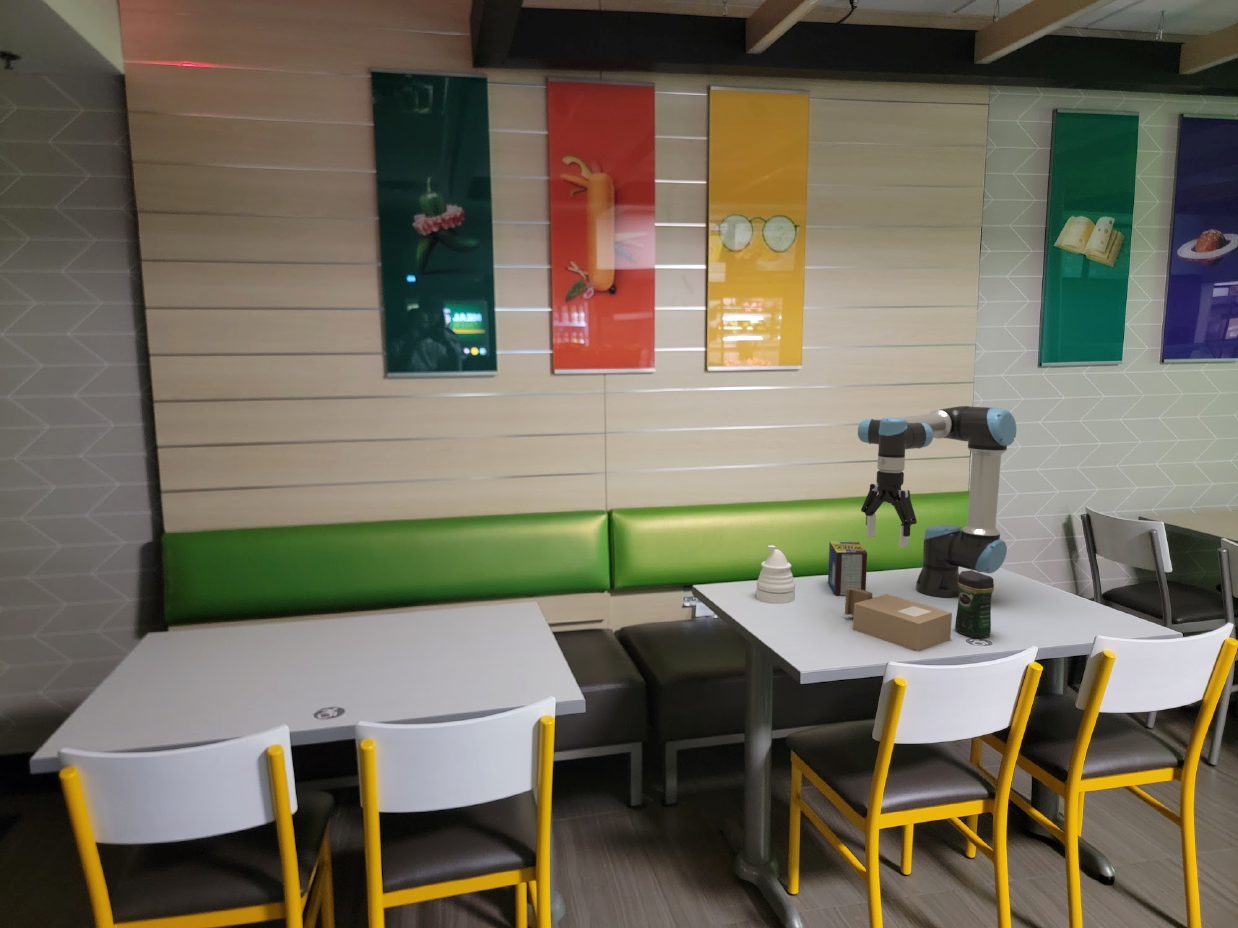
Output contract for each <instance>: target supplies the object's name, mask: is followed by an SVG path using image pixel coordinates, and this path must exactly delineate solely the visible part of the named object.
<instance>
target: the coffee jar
mask: <svg viewBox="0 0 1238 928" xmlns="http://www.w3.org/2000/svg"><path fill="white" fill-rule="evenodd" d="M994 586H995V583H994V578H993V577H992V576H990V575H987V574H985V573H984V574H983V573H982V572H977V571H975V570H971V569H969V570H962V571H961V572H960V573H959V579H958V587H959V596H958V603H957V609H956V616H955V624H954V625H955V626H954V629H955V631H957V632H958V633H960V634H963V635H965V636H968V637H969V638H979V639H985V638H987V637H989V636H991V635H992V634H991V633H992V631H991V630H992V628H991V627H992V623H991V622H992V621H991V620H992V618H991V617H992V615H991V611H992V610H991V609H992V608H991V607H992V606H991V605H992V595H993V592H994V591H995V590H994V589H995V587H994Z"/></svg>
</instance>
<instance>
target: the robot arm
mask: <svg viewBox="0 0 1238 928" xmlns="http://www.w3.org/2000/svg"><path fill="white" fill-rule="evenodd" d="M1016 435H1017V422H1016V420H1015V416H1014V415H1013V414H1012V413H1011V411H1009V410H1007V409H1004V408H998V407H987V406H985V407H984V406H983V407H982V406H970V405H969V406H968V405H962V406H961V405H960V406H952V407H945V408H941V409H935V410H931V412H929V413H926V414H916V415H910V416H909V415H908V416H900V417H882V418H881V419H874V418H870V419H869V418H868V419H866V418H865V419H863V420H861V421H860V423H859V425H858V427H857V437H858V439H859V440H860V442H862V443H865V444H869V445H871V444H872V445H878V449H877V450H878V452H877V465H876V467H877V470H878V471H876V480H875V481H876V483H870V485H869V490H868V493H867V495H866V498H865V500H864V501H863V504H862V507H861V509H860V511H861V512H862V513H864V515H865V525H866V530H865V531H866V532H865V533H866V535H865V537H866V538H875V537H876V526H877V525H876V523H877V521H876V520H877V515H876V512H877V511H878V510H879V508H880V507H881V506H882V505H883V503H888V504H891V505H892V506H893V507H894V510H895V512H896V514H897V516H898V517H899V520H900V522H901V524H900V525H899V538H898V548H908V547H909V538H910V536H911V526H912V525H916V524H917V522H918V521H917V517H916V515H915V511H914V507H913V504H912V501H911V492H910V490H909V489H906V490H902V485H903V484H904V481H905V480H904V478H905V473H904V471H905V467H906V466H905V465H906V464H905V463H906V462H905V460H906V450H910V449H912V450H913V449H922V448H926V447H928V446H929V445H930V444H931V443H932V442H933V440H934V439H937V440H939V439H948V440H955V441H961V442H967V450H969V451H970V452H971V466H970V468H971V469H970V482H969V494H968V495H969V496H968V507H967V523H966V525H965V526H964V527H963V528H962V527H961V526H959V525H955V524H943V525H942V524H939V525H932V526H931V525H930V526H928V527H926V528H925V531H924V535H923V549H922V550H923V551H922V566H921V567H922V568H921V570H920V573H919V575H918V577H917V579H916V582H915V590H916V591H917V592H918V593H921V594H924V595H927V596H932V597H937V598H939V597H940V598H956V597H959V587H958V579H959V575H960V573H959V569H960V568H964V569H967V570H973V571H975V572H978V573H984V574H994V573H995V572H997V571H998V570H999V569H1000V568H1001V567H1002V565H1003V564H1004V561H1005V559H1006V557H1007V549H1008V548H1007V547H1008V546H1007V544H1006V542H1005V541H1004V540H1003V539H1001V538H1000V537H1001V532H1000V531H999V529H997V527H996V525H997V513H998V501H999V499H998V498H999V487H1000V475H1001V463H1002V455H1003V454H1004V453H1005V452H1006V451H1007V450H1008V448H1007V447H1008V446H1010V445H1012V444H1013V443H1014V441H1015V438H1016ZM959 567H960V568H959Z"/></svg>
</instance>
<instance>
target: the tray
mask: <svg viewBox="0 0 1238 928" xmlns="http://www.w3.org/2000/svg"><path fill="white" fill-rule="evenodd" d="M873 593H874V592H871V591H868V590H866V591H864V590H861V589H859V587H853V588H850V589H846V596H845V602H844V603H845V605H844V606H845V607H844V614H845V615H846V616H850V615H851V616H854V603H858V602H861V601H864V600H868V599H871V598H873Z"/></svg>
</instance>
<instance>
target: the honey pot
mask: <svg viewBox="0 0 1238 928" xmlns="http://www.w3.org/2000/svg"><path fill="white" fill-rule="evenodd" d="M776 547H777V546H776V545H772V544H771V545H767V549H768V551H769V552H770V553H769V555H768V556H767V558H766V559H765V560H764V561H762V562H761V563H760V566H761V567H762V568H761V570H760V572H759V576H758V579H757V580H756V589H755V590H756V591H755V593H756V595H755V597H756V599H757V600H759V601H761V602H764V603H768V604H774V605H775V604H776V605H777V604H780V605H781V604H782V605H783V604H790V603H793V602H794V601H796V600H795V599H796V582H795V580H794V575H793V572H792V570H791V568H792V563H790V562H789V561H788V560H787V558H786V556H785V554H784V553H783V551H781V550H780V549H776Z"/></svg>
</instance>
